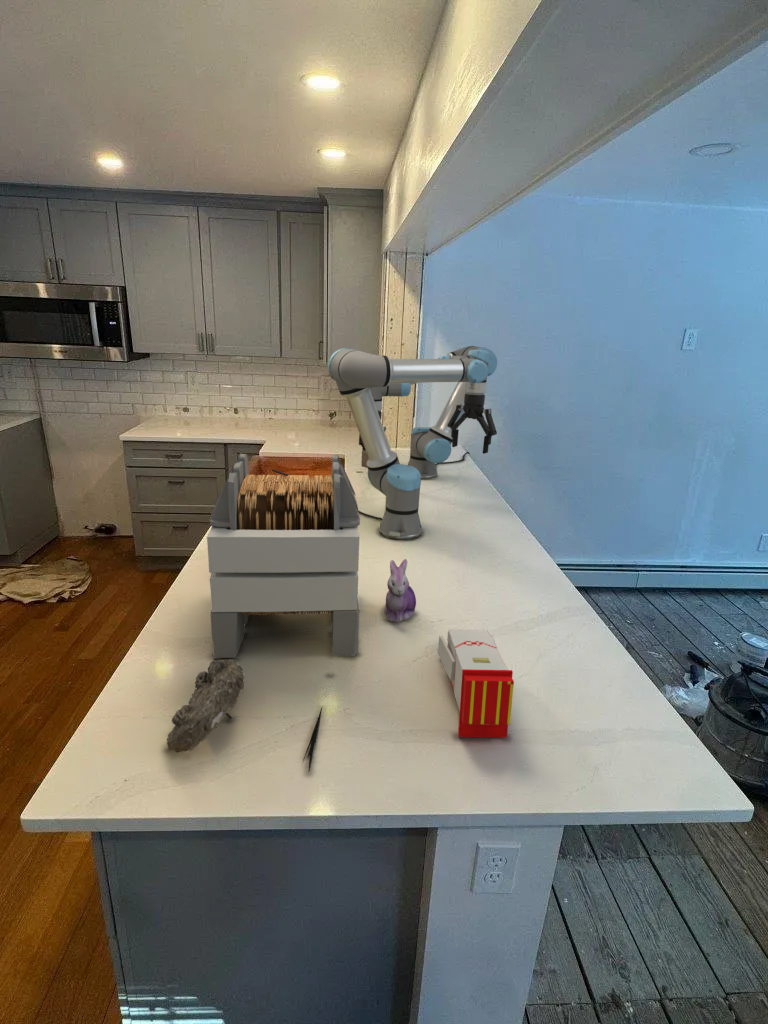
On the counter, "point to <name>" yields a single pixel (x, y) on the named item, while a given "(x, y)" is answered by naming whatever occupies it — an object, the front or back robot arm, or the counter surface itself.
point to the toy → (478, 682)
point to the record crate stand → (284, 553)
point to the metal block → (364, 459)
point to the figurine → (399, 594)
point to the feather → (313, 740)
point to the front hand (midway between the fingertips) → (469, 449)
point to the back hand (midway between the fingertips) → (370, 463)
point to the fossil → (206, 705)
